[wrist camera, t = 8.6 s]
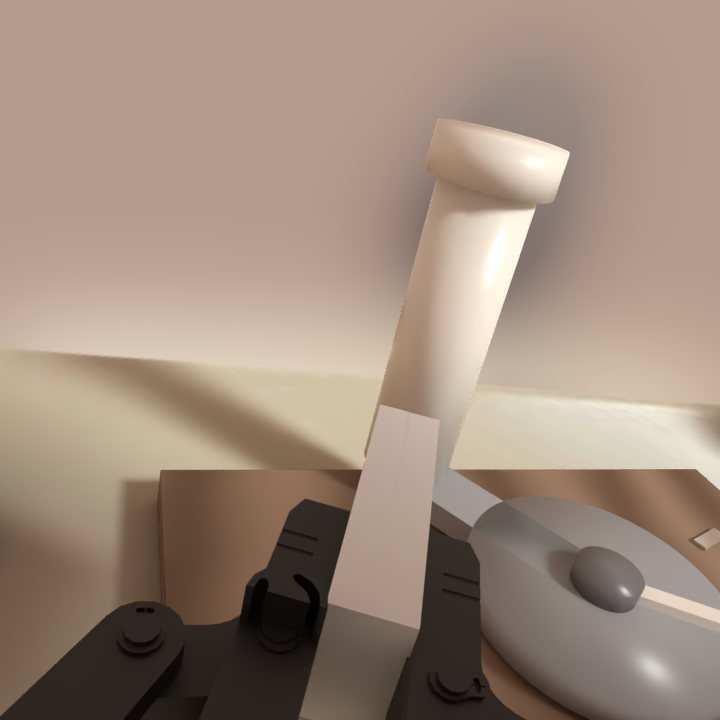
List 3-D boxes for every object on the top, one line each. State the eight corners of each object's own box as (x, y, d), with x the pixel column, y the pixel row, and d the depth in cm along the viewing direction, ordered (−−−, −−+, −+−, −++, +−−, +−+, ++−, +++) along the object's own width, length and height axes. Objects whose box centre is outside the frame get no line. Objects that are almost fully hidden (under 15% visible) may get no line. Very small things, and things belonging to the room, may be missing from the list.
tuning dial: (835, 654, 25) (1110, 298, 18) (843, 895, 17) (1331, 415, 10) (403, 422, 33) (490, 121, 27) (272, 511, 25) (352, 113, 19)
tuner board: (684, 491, 37) (697, 466, 36) (1027, 814, 22) (1059, 784, 22) (157, 499, 27) (160, 466, 26) (177, 1076, 13) (186, 1038, 12)
